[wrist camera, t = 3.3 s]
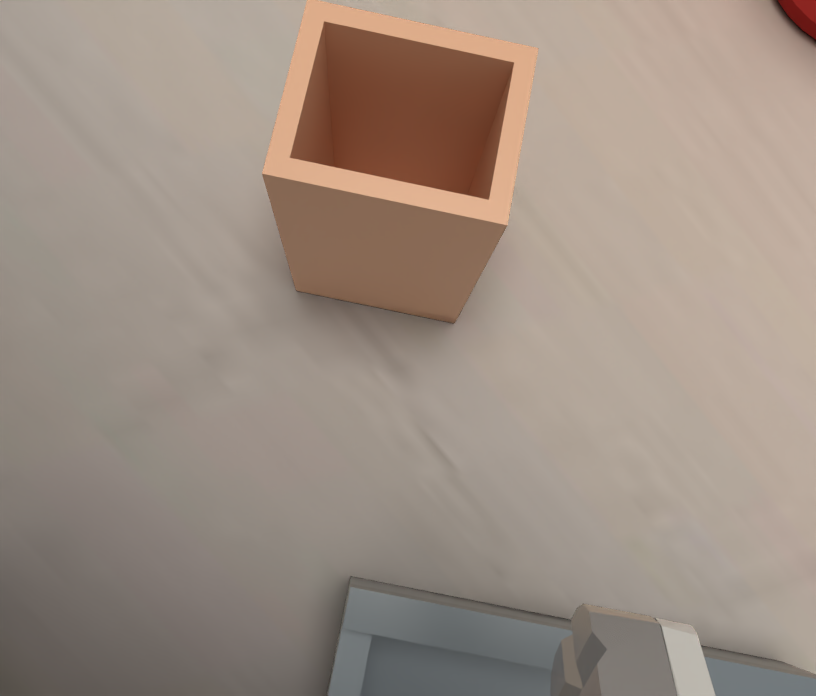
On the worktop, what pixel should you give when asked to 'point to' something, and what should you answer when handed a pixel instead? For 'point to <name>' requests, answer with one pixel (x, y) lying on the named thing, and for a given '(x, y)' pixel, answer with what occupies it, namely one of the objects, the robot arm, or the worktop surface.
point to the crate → (489, 650)
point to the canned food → (802, 14)
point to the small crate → (395, 158)
